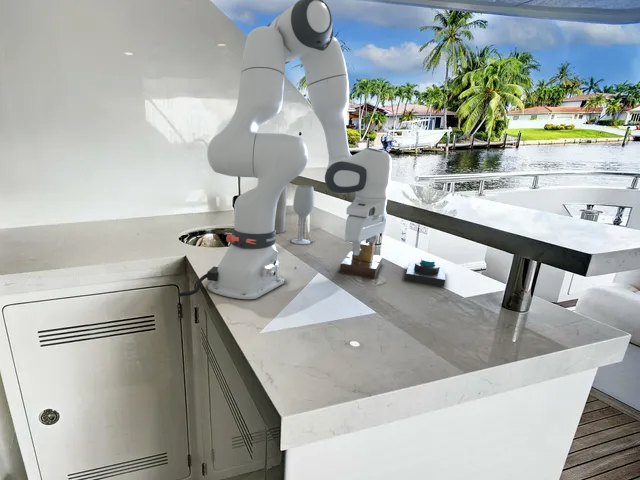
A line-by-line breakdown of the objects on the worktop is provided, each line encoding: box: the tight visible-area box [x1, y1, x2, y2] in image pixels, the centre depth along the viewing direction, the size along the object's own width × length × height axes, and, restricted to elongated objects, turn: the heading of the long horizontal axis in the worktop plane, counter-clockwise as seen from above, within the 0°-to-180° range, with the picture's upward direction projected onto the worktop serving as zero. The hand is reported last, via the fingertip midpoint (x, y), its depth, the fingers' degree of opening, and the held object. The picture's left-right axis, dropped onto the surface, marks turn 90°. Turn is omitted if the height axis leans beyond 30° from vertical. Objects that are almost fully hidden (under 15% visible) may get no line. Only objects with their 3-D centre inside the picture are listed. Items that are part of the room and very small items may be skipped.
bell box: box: [404, 260, 446, 288], centre depth 111 cm, size 12×10×4 cm
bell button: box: [420, 257, 436, 267], centre depth 110 cm, size 4×4×2 cm
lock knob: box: [352, 241, 376, 262], centre depth 116 cm, size 6×2×5 cm, turn 49°
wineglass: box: [291, 184, 315, 245], centre depth 142 cm, size 8×8×21 cm
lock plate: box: [339, 251, 383, 279], centre depth 117 cm, size 14×10×3 cm
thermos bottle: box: [274, 185, 288, 234], centre depth 156 cm, size 8×8×28 cm
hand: (363, 251), depth 115 cm, fingers open, 8 cm apart
